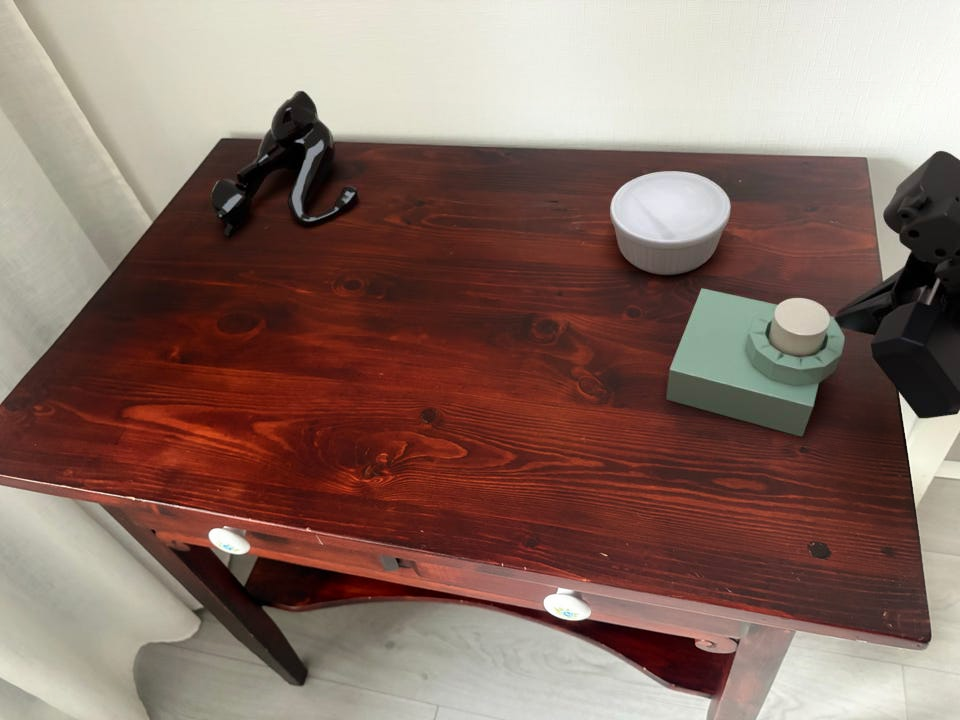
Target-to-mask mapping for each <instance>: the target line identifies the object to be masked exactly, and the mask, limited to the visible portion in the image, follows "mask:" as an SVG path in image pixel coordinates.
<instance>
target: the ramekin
mask: <svg viewBox="0 0 960 720" xmlns="http://www.w3.org/2000/svg"><path fill="white" fill-rule="evenodd" d="M731 208H732V207H731V200H730V198H729V196H728V194H727V193H726V191H724V189H723V188H722V187H721V186H720V185H719V184H717V183H715V182H714V181H713V180H710V179H709V178H707V177H705V176H702V175H700V174H697V173H692V172H687V171H679V170H678V171H672V170H665V171H657V172H650V173H646V174H644V175H641V176H637V177H636V178H634V179H632V180H630V181H628V182H626V183H624V184H623V185H622V186H621V187H620V188H619V189H618V190H617V191H616V193H614V195H613V196H612V199H611V202H610V207H609V216H610V221H611V224H612V225H613V227H614V233H615V235H616V240H617V246H618V248H619V251H620V252H621V254H622V256H623V257H624V258H625V259H626V260H627V261H628V262H629V263H630V264H632V265H633V266H634V267H636V268H637V269H640V270H642V271H644V272H647V273H650V274H655V275H660V276H661V275H662V276H672V275H673V276H675V275H679V274H684V273H685V274H686V273H688V272H690V271H693V270H696V269H697V268H699V267H700V266H702V265H704V264H705V263H707V262H708V260H710V258H711V257H712V256H713V255H714V253H715V251H716V250H717V247H718V245H719V242H720V239H721V238H722V234H723V231H724V229H725V228H726V226H727V225H728V222H729V220H730V216H731Z"/></svg>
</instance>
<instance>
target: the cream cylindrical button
mask: <svg viewBox="0 0 960 720" xmlns="http://www.w3.org/2000/svg"><path fill="white" fill-rule="evenodd" d="M777 305H778V306H777V307H776V309H775V311H774V315H773V319H772V323H771V327H770V331H769V340H770V342H771V344H772V345H773V347H774V348H775V349H777V350H778V351H780V352H781V353H783V354H786V355H791V356H795V357H807V356H811V355H813V354H815V353H817V352H818V351H819V350H820V349H821V347H822V344H823V341H824V339H825V336H826V333H827V330H828V327H829V324H830V316H831V315H830V313H829V312H828V310H827V308H825V306H823V305H822V304H821V303H819V302H817V301H814V300H812V299H809V298H804V297H792V298H788V299H785V300H782V301H781V302H779V304H777Z"/></svg>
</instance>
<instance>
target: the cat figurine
mask: <svg viewBox="0 0 960 720" xmlns="http://www.w3.org/2000/svg"><path fill="white" fill-rule="evenodd" d="M313 100H314V99H312V98H311V97H310V95H309V94H308V93H307V92H306V91H304V90H297V91H296V92H295V93H294V94H293V95H292V96H291V98H289V99H286V100H285V101H284V102H283V103H282V104H281V105H280V106H279V107H278V108H277V110H276V111H275V113H274V115H273V117H272V119H271V124H270V128H269V129H268V130H267V131H266V133H264V136H263V138H262V140H261V142H260V145H259V147H258V150H257V151H258V152H257V156H256V157H255V159H254V161H252V162H250V163H248V164H247V165H246V166H244V167H242V168H241V169H240V170H239V171H237V173H236V179H237V182H235V181H234V180H232V179H228V178H222V179H218V180H217V181H216V182H215V184H214V186H213V188H212V190H211V193H210V203H211V205H212V207H213V210H214V212H215V217H216V218H217V219H219V220H220V221H221V222H222V223H223V224H224V225H226V227H225V229H224V231H223V234H224V236H226V237H227V238H229V237H231V236H232V235H233V233H234V230H235V229H236V228H237V227H238V226H239V225H240V224H241V223H242V221H244V219H245V218H246V217H248V215H249V214H250V213H251V211H252V209H253V201H252V199H253V198H254V197H255V196H256V194H257V193H258V191H259V190H260V188H261V186H262V185H263V184H264V182H265V180H266V178H267V177H268V176H270V175H271V174H272V173H273V172H276V171H279V170H283V169H285V170H288V171H290V172H292V171H293V172H294V171H298V173H297V175H296V177H295V180H294V182H293V185H292V187H291V189H290V191H289V193H288V196H287V199H286V201H287V204H288V209H289V210H290V212H291V214H292V216H293V217H294V219H295V220H296V221H297V222H298V223H300V224H302V225H304V226H314V225H317V224H319V223H322V222H325V221H327V220H330V219H332V218H335V217H336V216H337V215H339V214H341V213H345V212H349V211H350V210H351V209H352V208H353V206H355V205H356V204H357V202H358V201H359V193H358V189H357V187H355V186H353V185H350V184H349V185H346V186H344V187H343V188H342V190H341V193H340V195H339V196H338V197H337V198H336V200H335V202H334V205H333V207H332V208H330V209H328V210H326V211H324V212H321V213H319V214H316V215H309V214H307V213H306V209H307V206H308V204H309V202H310V200H311V199H312V197H313V196H314V195H315V194H316V192H317V190H318V189H319V187H320V186H321V185H322V183H323V180H325V178H326V176H328V173H329V172H330V170H331V168H332V166H333V164H334V160H335V154H336V146H335V139H334V136H333V134H332V133H333V132H332V131H331V130H330V128H329V127H328V126H327V125H326V124H325V123H324V122H323V121H322V120H320V118H319V115H318V114H319V113H318V109H317V105H316V103H315V102H314V101H313Z"/></svg>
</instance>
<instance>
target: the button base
mask: <svg viewBox="0 0 960 720" xmlns="http://www.w3.org/2000/svg"><path fill="white" fill-rule="evenodd" d="M778 305H779V304H776V303H771V302H767V301H762V300H758V299H753V298H750V297H749V298H748V297H744V296H739V295H735V294H730V293H726V292H722V291H721V292H720V291H716V290H711V289H707V288H703V287H701V288H700V291H699V293H698V296H697V298H696V301H695V303H694V306H693V308H692V310H691V314H690V315H689V319H688V322H687V324H686V326H685V329H684V332H683V334H682V337H681V338H680V342H679V344H678V346H677V348H676V352H675V354H674V356H673V358H672V362H671V365H670V367H669V370H668V377H667V387H666V394H665V395H666V396H665V399H666V400H667V401H670V402H674V403H678V404H682V405H685V406H687V407H692V408H696V409H700V410H703V411H705V412H710V413H714V414H717V415H721V416H725V417H728V418H732V419H736V420H739V421H743V422H746V423H750V424H753V425H757V426H761V427H764V428H768V429H770V430H771V429H772V430H776V431H779V432H782V433H786V434H789V435H794V436H797V437H801V438H803V437H804V434H805V431H806V429H807V425H808V423H809V420H810V418H811V415H812V412H813V409H814V406H815V401H816V398H817V393H818V388H819V384H820V383H821V382H823V381H824V380H825V379H826V378H828V377H829V376H830V375H832V374H834V373H835V372H836V371H837V369H838V365H839V363H840V360H841V358H842V354H843V350H844V346H845V341H846V337H845V335H844V333H843V331H842V328H841V327H840V326H839V325H838V324H837V322H836V321H835V319H834V318H835V316H831V315H829V316H830V324H829V327H828V330H827V333H826V336H825V339H824V341H823V344H822V347H821V349H820V350H819V351H818V352H817V353H815V354H813V355H811V356H807V357H795V356H791V355H786V354H783V353H781V352H780V351H778V350H777V349H775V348H774V347H773V345H772V344H771V342H770V340H769V331H770V327H771V323H772V319H773V315H774V311H775V309H776V307H777V306H778Z"/></svg>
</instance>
